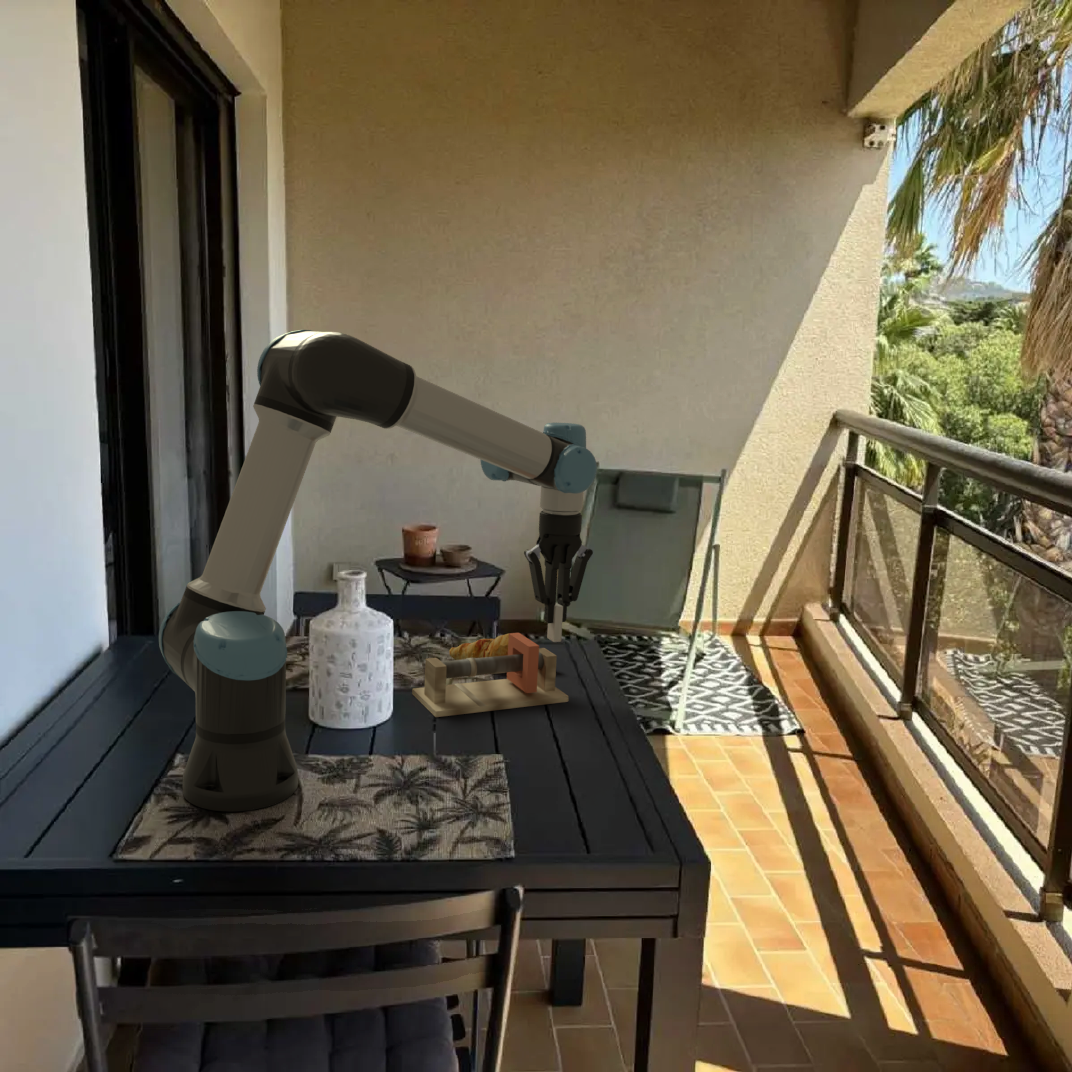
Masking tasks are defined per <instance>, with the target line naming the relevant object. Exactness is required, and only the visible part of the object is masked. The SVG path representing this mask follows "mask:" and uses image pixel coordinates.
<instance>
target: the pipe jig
mask: <svg viewBox="0 0 1072 1072" xmlns="http://www.w3.org/2000/svg"><path fill="white" fill-rule="evenodd" d="M557 657H558V656H557V655H556V654H555V653H553V652H551V651H550V650H548V649H547V648H545V647H539V659H538V677H537V692H533V693H525V692H524V691H523V690H521V689H520V688H519V687H517V686H516V685H515V684H514V683H512V682H511V681H510V680H508V679H507V678H503V679H492V680H484V681H483V680H481V681H473V682H463V683H461V682H460V683H451V684H447V679H455V678H457V679H458V678H464V677H465V678H466V677H468V678H473V677H474V678H475V677H476V676H485V675H494V674H505V673H506V674H507V672H516V671H523V654H517V655H506V656H495V657H484V658H467V659H462V660H455V659H453V660H444V661H441V660H440V659H438V657H429V658H425V661H424V662H425V664H424V667H425V668H424V686H423V687H415V688H412V690H411V691H412V692H411V694H412V696H414V697H415V699H417V700H418V702H420V703H421V705H423V706H424V708H426V709H427V710H428V711H429V712H430V713H431V714H432V715H433V716H434V717H435V718H439V717H441V718H442V717H448V716H449V717H450V716H457V715H464V714H465V715H466V714H474V713H482V712H483V713H484V712H492V711H499V710H509V709H516V708H517V709H518V708H524V707H525V708H526V707H533V706H534V707H535V706H543V705H550V704H551V705H552V704H559V703H567V702H569V695H567V693H565V692H563V691H562V690H561V689H559V688H557V686H556V675H557V673H556V672H557V659H558V658H557Z"/></svg>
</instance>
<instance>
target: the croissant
mask: <svg viewBox="0 0 1072 1072" xmlns="http://www.w3.org/2000/svg"><path fill="white" fill-rule="evenodd" d="M508 641H509V633H505V634H501V635H497V636H496V637H495V638H481V639H478V640H476V641H474V642H473V641H472V642H465V643H464V642H463V643H462V644H459V646H457V647H453V646H452V647H451V648H450V649H449V650H448V651H449V653H448V654H449V656H450V657H451V658H452V659H453V660H462V659H467V658H484V657H495V656H506V655H508Z"/></svg>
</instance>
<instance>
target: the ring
mask: <svg viewBox="0 0 1072 1072" xmlns="http://www.w3.org/2000/svg"><path fill="white" fill-rule="evenodd" d="M508 634H509V641H508V655H517V654H523V671H516V672H507V673H506V679H508V680H510V681H511V682H512V683H514V684H515V685H516V686H517V687H519V688H520V689H521V690H523V691H524V692H525V693H533V692H537V677H538V659H539V648H540V645H539V644H537V643H536V642H534V641H533V640H531V639H529V638H528V637H526V636H525V635H524V634H522V633H520V632H511V633H508Z"/></svg>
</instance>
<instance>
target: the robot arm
mask: <svg viewBox="0 0 1072 1072" xmlns="http://www.w3.org/2000/svg"><path fill="white" fill-rule="evenodd" d="M256 370H257V371H256V372H257V373H256V374H257V381H258V385H259V388H258V391H257V394H256V398H255V400H254V403H253V404H252V405H253V406H252V407H253V409H254V411H255V413H256V416H257V418H258V423H257V426H256V428H255V432H254V434H253V437H252V439H251V442H250V445H249V448H248V450H247V453H246V455H245V458H244V461H243V464H242V467H241V469H240V473H239V475H238V478H237V480H236V483H235V486H234V488H233V491H232V494H231V496H230V499H229V502H228V504H227V507H226V509H225V513H224V516H223V518H222V521H221V523H220V526H219V529H218V532H217V534H216V537H215V540H214V542H213V545H212V548H211V550H210V553H209V555H208V558H207V562H206V563H205V566H204V570H203V572H202V574H201V575H200V576H199V577H197V578H195V579H193V580H192V581H190V582H187V585H186V587H185V590H184V592H183V595H182V597H181V600H180V602H178V603H177V604H175V605H173V606H172V607H171V608H170V609H169V610H168V612H167V613H166V614H165V616H164V617H163V620H162V621H161V624H160V627H159V631H158V644H159V645H158V646H159V650H160V652H161V654H162V655H161V656H162V657H163V659H164V662H165V663H166V664H167V665H168V668H169V670H170V671H171V672H172V673H173V674H175V675H176V677H178V678H180V679H181V680H182V681H183V682H185V684H186V685H187V686H189V688H190V689H191V690H192V691H194V693H195V694H194V695H195V738H194V742H193V744H192V747H191V750H190V752H189V756H188V760H187V762H186V765H185V768H184V771H183V775H182V795H183V797H184V799H185V800H186V801H187V802H188V803H190V804H192V805H194V806H195V807H198V808H201V809H205V810H209V811H217V812H245V811H247V812H248V811H253V810H258V809H264V808H267V807H271V806H273V805H275V804H276V805H277V804H279V803H281V802H282V801H284V800H287V799H288V798H289V797H291V796H292V795H293V794H294V793H295V792H296V791H297V789H298V785H299V783H298V782H299V770H298V764H297V762H296V760H295V756H294V754H293V751H292V747H291V745H290V741H289V738H288V736H287V732H286V696H287V695H286V688H287V687H286V685H287V682H286V681H287V657H288V648H287V643H286V633H285V630H284V628H283V627H282V626H281V624H280V623H279V622H278V621H277V620H275V618H272V617H270V616H267V615H265V613H266V609H267V607H266V605H265V604H264V602H263V600H262V597H261V593H262V591H263V590H262V589H263V587H264V585H265V581H266V578H267V576H268V573H269V571H270V568H271V566H272V563H273V560H274V557H275V554H276V552H277V550H278V547H279V543H280V541H281V538H282V536H283V533H284V530H285V527H286V524H287V521H288V520H289V516H290V514H291V511H292V508H293V506H294V503H295V501H296V498H297V495H298V492H299V489H300V486H301V484H302V483H303V478H304V475H305V473H306V470H307V467H308V465H309V463H310V459H311V457H312V454H313V451H314V449H315V446H316V443H317V442H318V441H321V439H324V438H326V437H329V436H331V433H332V430H333V427H334V425H335V422H336V419H337V418H345V419H350V420H356V421H360V422H365V423H369V424H372V425H375V426H377V427H380V428H382V429H385V430H389V429H392V428H394V427H399V428H400V429H401V428H402V429H404V430H406V431H409V432H411V433H413V434H416V435H418V436H420V437H424V438H426V439H428V440H430V441H433V442H435V443H438V444H441V445H442V446H443V445H444V446H446V447H447V448H451V449H453V450H455V451H458V452H461V453H464V454H465V455H468V456H471V457H472V458H473V457H474V458H476V459H479V460H480V465H481V470H482V472H483V474H484V475H485V477H486V478H488V479H489V480H491V481H502V482H507V481H516V482H521V483H525V484H529V485H533V486H539V487H540V501H539V508H540V509H541V511H540V512H539V518H538V519H539V521H538V532H539V534H538V537H537V540H536V542H535V546H534V547H532V548H530V549H525V550H524V552H523V554H524V557H525V558H526V560H527V562H528V566H529V571H530V576H531V581H532V582H531V583H532V589H533V594H534V599H535V600H536V601H538V602H539V603H541V604H543V605H544V611H543V612H544V616H543V617H544V622H545V623H547V633H546V634H547V635H546V638H547V639H549V640H550V641H551V642H552V643H557V642H558V643H559V642H562V636H563V635H562V634H563V623H566V622H567V613H568V607H570V605H571V603H572V602H576V601H577V600H578V598H579V593H580V591H581V587H582V584H583V580H584V576H585V572H586V568H587V564H588V562H589V561H590V559H591V558H592V555H593V553H594V550H593V549H591V548H588V547H586V546H585V545H584V544H583V540H582V539H581V532H582V524H583V523H582V521H583V515H582V513H581V511H582V510H583V506H584V505H583V503H584V502H583V501H584V492H586V491H587V490H588V489H589V488H590V487H591V486H592V484H593V483H594V481H595V478H596V475H597V470H598V465H597V460H596V458H595V456H594V454H593V453H592V452H591V451H590V450H589V449H588V448H587V431H586V428H585V426H583V425H582V424H579V423H570V422H547V423H546V424H545V425H544V426H543V431H540V430H537V429H536V428H533V427H531V426H529V425H527V424H524V423H521V422H519V421H518V420H516V419H513V418H510V417H509V416H506V415H504V414H503V413H499V412H497V411H495V410H492V409H490V408H488V407H486V406H484V405H481V404H479V403H477V402H475V401H472V400H471V399H468V398H466V397H464V396H461V395H459V394H457V393H455V392H453V391H451V390H448V389H446V388H445V387H444V388H443V387H441V386H440V385H437V384H434V383H433V382H430V381H428V380H426V379H423V378H421V377H420V376H417V374H416V371H415V368H414V367H413V366H412V365H410V364H408V363H406V362H404V361H401V360H400V359H397V358H395V357H393V356H392V355H389V354H388V353H386V352H383V351H382V350H381V349H378V348H376V347H374V346H372V345H370V344H369V343H366V342H364V341H363V340H361V339H359V338H357V337H354V336H353V335H350V334H346V333H342V332H338V331H315V330H311V329H299V330H298V329H297V330H292V331H289V332H286V333H283V334H280V335H279V336H277V337H275V338H274V339H273V340H270V342H269V343H268V344H267V345H266V346H265V348H264V349H263V351H262V352H261V354H260V356H259V359H258V362H257V369H256ZM541 556H542V557H543V559H544V566H545V570H544V571H545V572H544V575H543V569H542V565H541V564H542V563H541V561H540V559H541ZM574 557H575V559H574ZM573 559H574V562H573ZM571 569H572V570H571Z"/></svg>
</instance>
